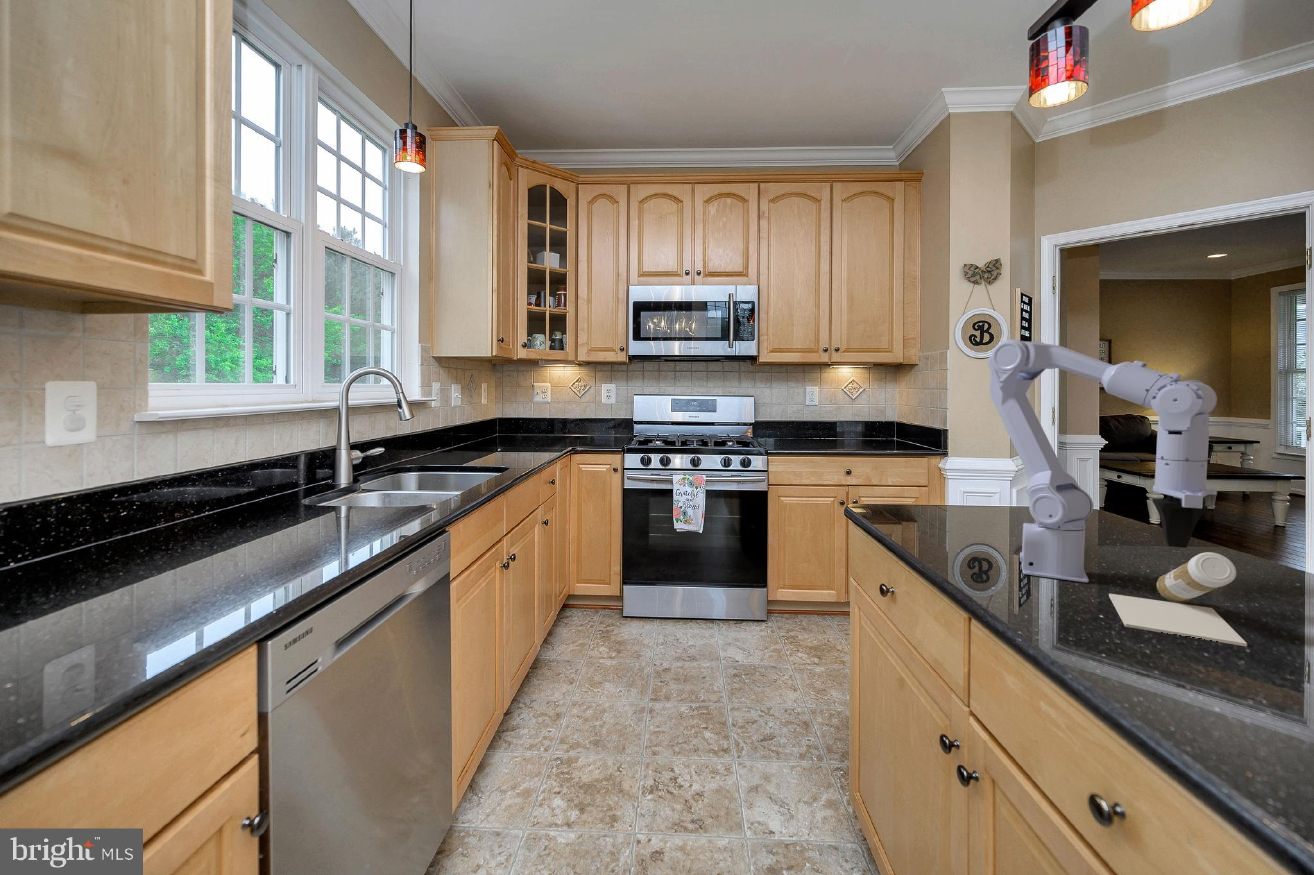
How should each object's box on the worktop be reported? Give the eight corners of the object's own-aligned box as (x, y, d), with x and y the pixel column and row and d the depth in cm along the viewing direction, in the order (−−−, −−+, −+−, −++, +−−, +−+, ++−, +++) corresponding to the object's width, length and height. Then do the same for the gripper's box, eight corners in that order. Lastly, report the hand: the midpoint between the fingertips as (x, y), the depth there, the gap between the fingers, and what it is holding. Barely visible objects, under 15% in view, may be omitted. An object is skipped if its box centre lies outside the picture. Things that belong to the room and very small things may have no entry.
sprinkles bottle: (1168, 568, 87) (1208, 544, 76) (1200, 590, 85) (1246, 568, 74) (1148, 587, 87) (1184, 566, 76) (1179, 610, 84) (1222, 591, 73)
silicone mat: (1125, 626, 76) (1125, 623, 76) (1109, 595, 88) (1109, 593, 88) (1246, 646, 70) (1247, 643, 70) (1211, 610, 82) (1211, 607, 82)
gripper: (1235, 465, 76) (1229, 561, 76) (1202, 456, 88) (1197, 539, 89) (1166, 463, 79) (1161, 554, 80) (1144, 454, 92) (1140, 533, 92)
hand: (1176, 546), depth 85 cm, fingers closed
